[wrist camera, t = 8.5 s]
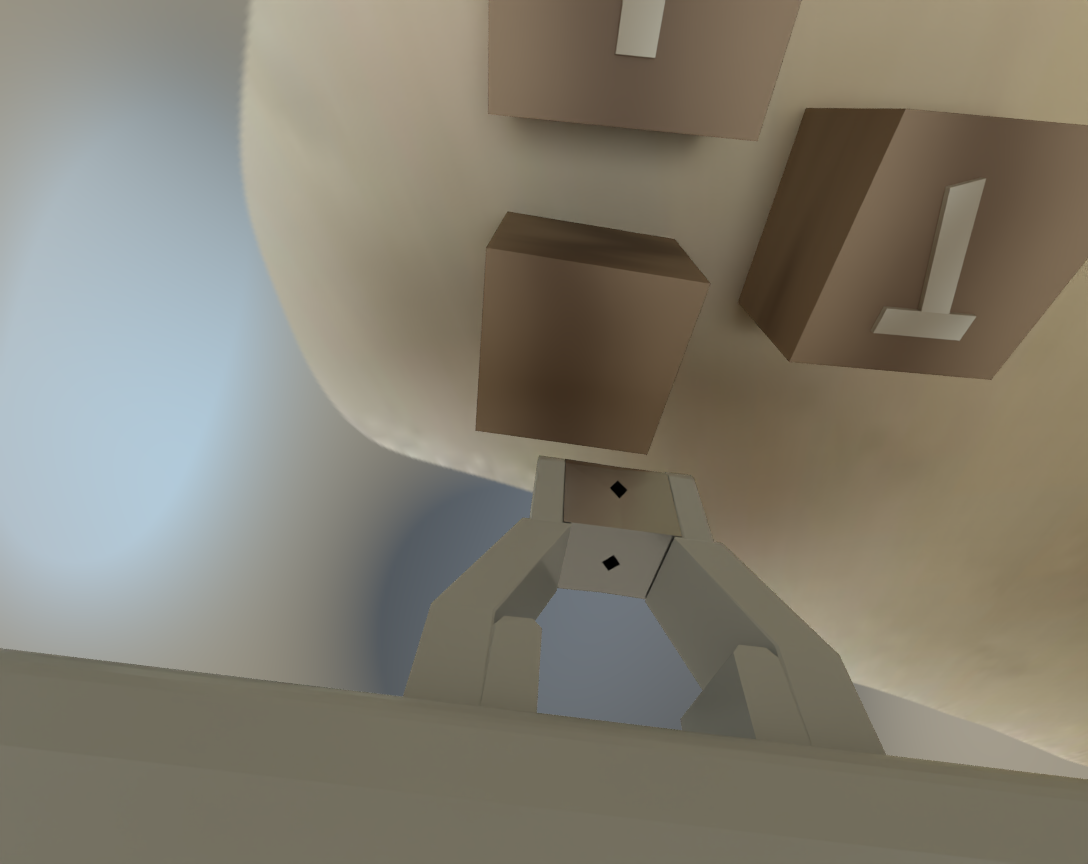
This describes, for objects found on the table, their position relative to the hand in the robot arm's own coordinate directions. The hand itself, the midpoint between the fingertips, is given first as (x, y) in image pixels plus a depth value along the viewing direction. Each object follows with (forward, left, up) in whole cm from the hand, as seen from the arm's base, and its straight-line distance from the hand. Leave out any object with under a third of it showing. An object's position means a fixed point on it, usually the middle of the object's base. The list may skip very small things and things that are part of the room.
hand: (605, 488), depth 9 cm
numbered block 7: (-9, -4, -11) cm, 14 cm away
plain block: (0, 0, -11) cm, 11 cm away
